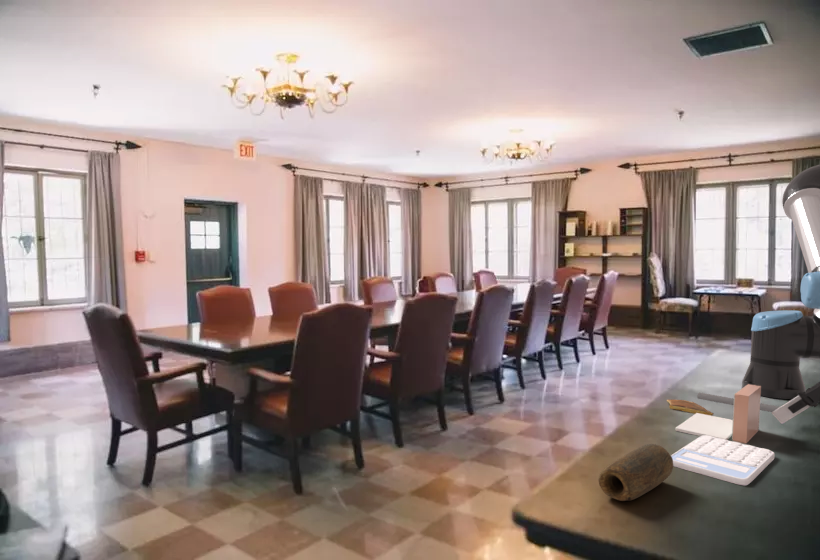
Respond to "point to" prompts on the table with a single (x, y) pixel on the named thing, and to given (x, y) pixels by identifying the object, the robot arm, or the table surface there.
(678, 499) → the table surface
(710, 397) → the gray half cylinder
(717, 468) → the calculator
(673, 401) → the shard
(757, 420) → the terracotta tile
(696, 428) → the white rectangular slab
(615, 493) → the stone weight
